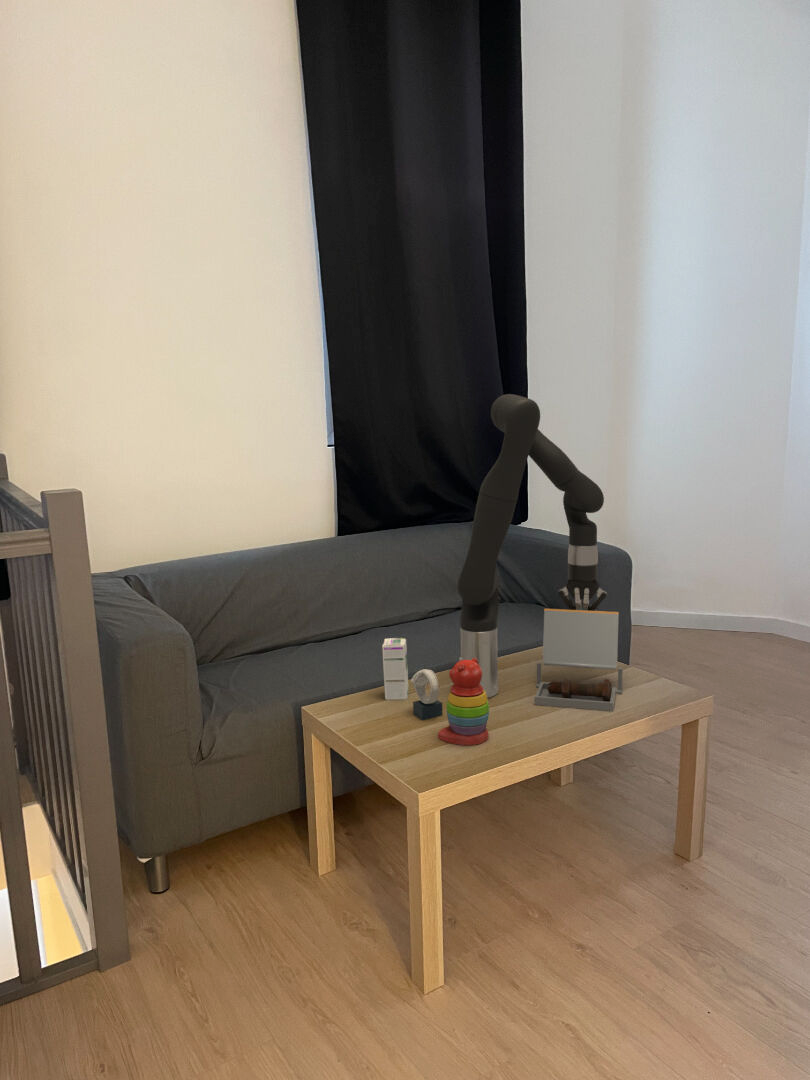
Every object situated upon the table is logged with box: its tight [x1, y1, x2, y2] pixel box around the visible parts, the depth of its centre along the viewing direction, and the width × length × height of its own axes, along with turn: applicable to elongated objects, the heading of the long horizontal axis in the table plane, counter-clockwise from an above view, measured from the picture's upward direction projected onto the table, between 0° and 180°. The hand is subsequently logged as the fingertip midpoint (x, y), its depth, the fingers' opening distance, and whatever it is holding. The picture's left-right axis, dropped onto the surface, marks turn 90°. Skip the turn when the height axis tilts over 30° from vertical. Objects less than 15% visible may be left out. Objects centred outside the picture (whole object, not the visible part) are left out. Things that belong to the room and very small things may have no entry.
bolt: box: [548, 677, 613, 702], centre depth 203 cm, size 6×5×15 cm
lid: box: [542, 608, 620, 671], centre depth 212 cm, size 19×14×1 cm
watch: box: [410, 668, 443, 721], centre depth 197 cm, size 6×8×11 cm
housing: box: [533, 661, 623, 712], centre depth 205 cm, size 21×15×6 cm
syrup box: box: [381, 637, 410, 701], centre depth 209 cm, size 6×6×14 cm
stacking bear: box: [437, 658, 490, 746], centre depth 183 cm, size 11×10×18 cm
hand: (582, 625), depth 218 cm, fingers closed
